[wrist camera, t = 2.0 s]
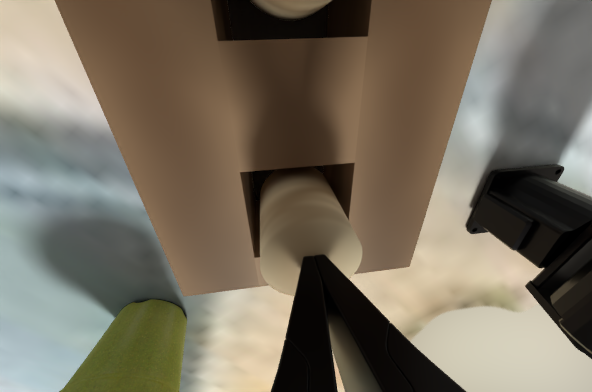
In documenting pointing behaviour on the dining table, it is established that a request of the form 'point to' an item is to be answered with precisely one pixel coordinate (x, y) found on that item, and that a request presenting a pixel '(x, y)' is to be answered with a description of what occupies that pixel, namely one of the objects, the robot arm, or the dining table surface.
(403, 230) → the jig block
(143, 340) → the plant pot
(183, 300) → the dining table surface
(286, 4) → the peg near
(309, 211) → the peg far
